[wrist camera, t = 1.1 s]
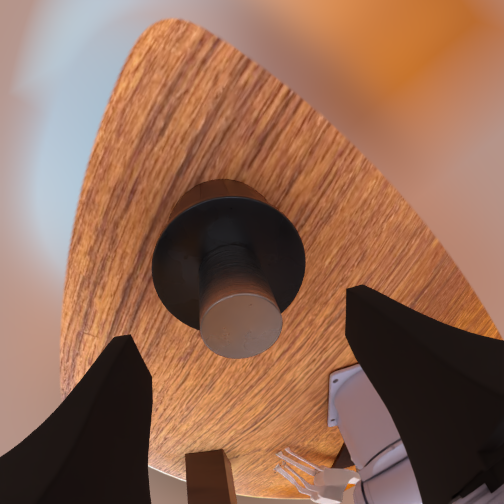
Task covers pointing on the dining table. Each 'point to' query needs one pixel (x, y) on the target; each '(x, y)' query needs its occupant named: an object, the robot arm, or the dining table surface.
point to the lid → (229, 271)
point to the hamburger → (343, 459)
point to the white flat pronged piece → (320, 479)
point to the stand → (209, 478)
